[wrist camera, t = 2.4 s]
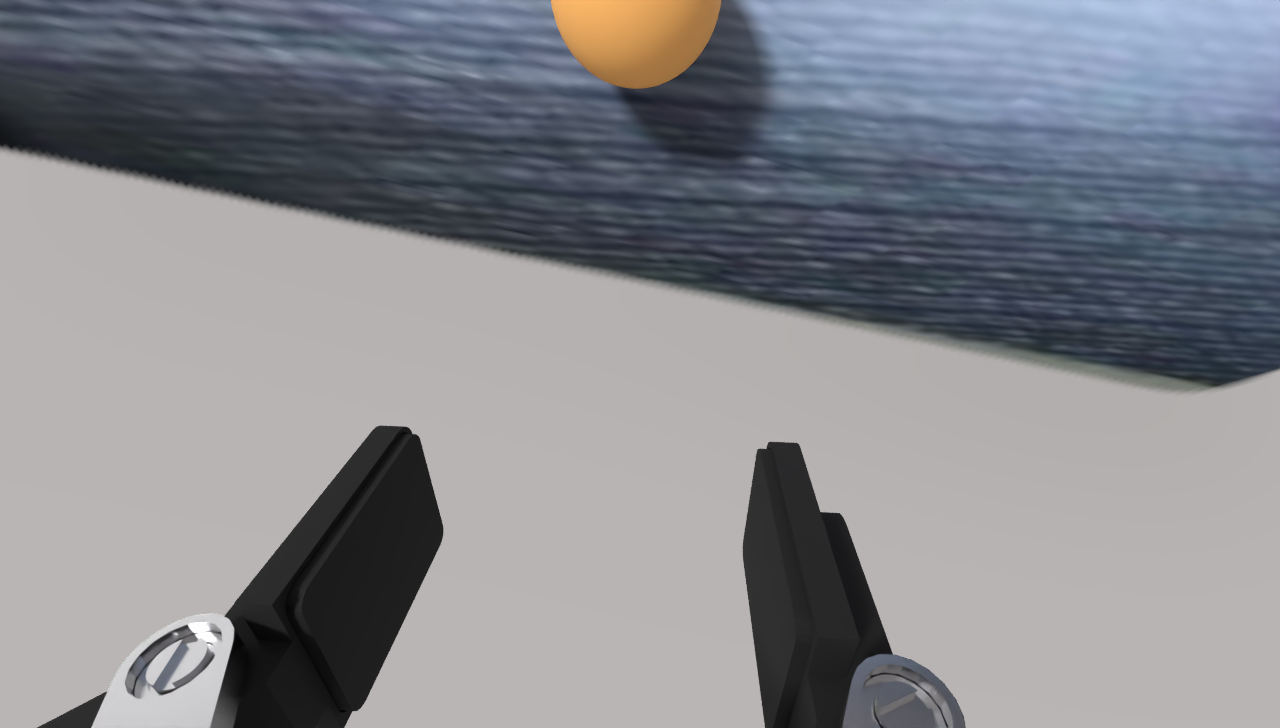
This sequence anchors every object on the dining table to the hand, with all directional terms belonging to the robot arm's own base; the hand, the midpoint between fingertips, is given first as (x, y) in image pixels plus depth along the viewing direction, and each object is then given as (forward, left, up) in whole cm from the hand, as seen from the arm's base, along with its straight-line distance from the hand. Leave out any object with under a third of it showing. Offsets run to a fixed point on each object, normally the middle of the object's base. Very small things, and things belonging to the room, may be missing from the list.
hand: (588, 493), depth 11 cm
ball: (0, +10, -15) cm, 17 cm away
